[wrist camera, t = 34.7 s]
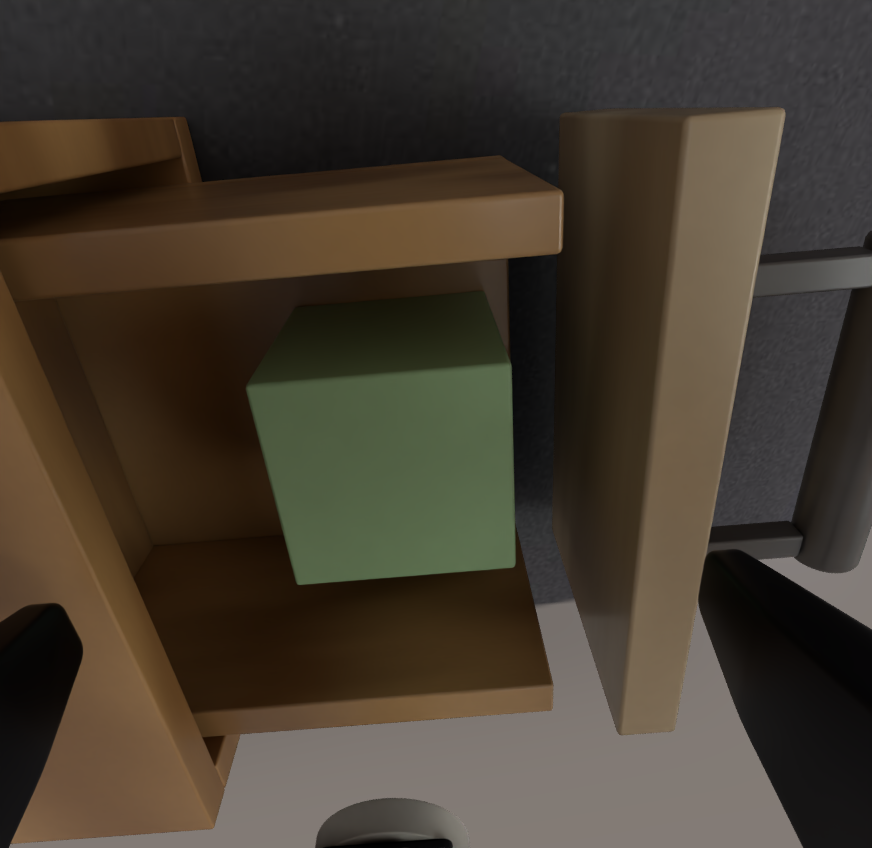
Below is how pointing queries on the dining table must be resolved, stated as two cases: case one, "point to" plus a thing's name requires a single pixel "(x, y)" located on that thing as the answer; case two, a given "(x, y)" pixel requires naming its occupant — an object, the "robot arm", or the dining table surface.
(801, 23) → the dining table surface
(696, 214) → the drawer
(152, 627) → the cabinet
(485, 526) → the block
